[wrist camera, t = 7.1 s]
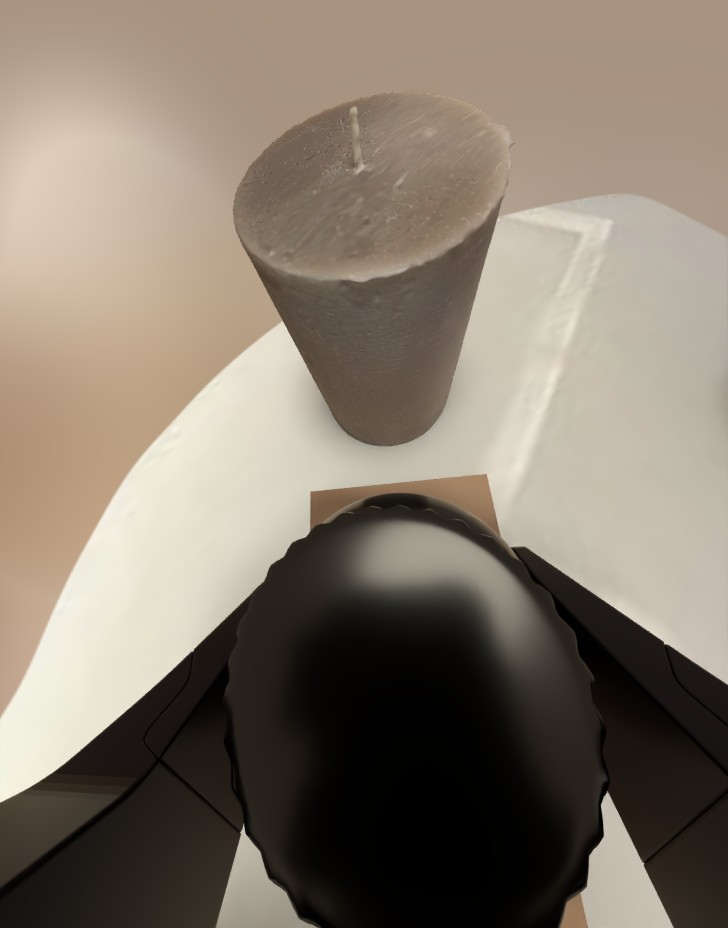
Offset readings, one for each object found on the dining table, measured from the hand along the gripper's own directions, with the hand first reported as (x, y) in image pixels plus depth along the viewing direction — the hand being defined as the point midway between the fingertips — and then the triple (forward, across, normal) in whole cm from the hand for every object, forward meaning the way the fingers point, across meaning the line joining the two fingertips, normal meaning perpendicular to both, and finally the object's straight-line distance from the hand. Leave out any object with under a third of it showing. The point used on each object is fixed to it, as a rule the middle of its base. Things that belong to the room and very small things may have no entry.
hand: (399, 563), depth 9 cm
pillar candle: (+16, 0, -2) cm, 16 cm away
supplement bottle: (+4, 0, +6) cm, 7 cm away
